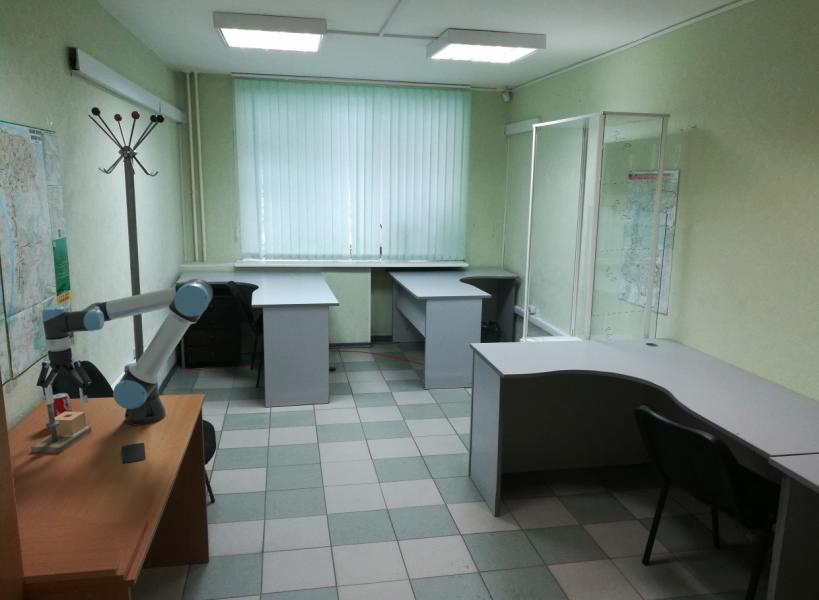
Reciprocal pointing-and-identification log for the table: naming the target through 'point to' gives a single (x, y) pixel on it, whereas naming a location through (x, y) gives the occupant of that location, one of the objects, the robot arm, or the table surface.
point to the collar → (70, 423)
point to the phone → (133, 453)
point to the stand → (57, 437)
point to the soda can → (61, 403)
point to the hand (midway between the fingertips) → (67, 403)
